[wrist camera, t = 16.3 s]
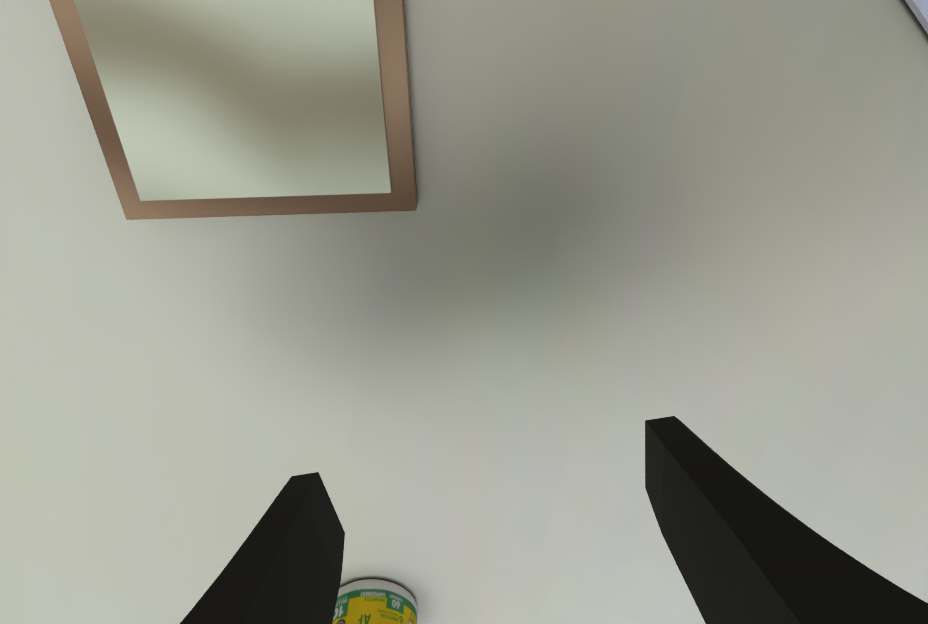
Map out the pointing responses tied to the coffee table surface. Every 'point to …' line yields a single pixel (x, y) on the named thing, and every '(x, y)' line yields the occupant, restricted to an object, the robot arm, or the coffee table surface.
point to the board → (247, 104)
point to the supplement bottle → (374, 604)
